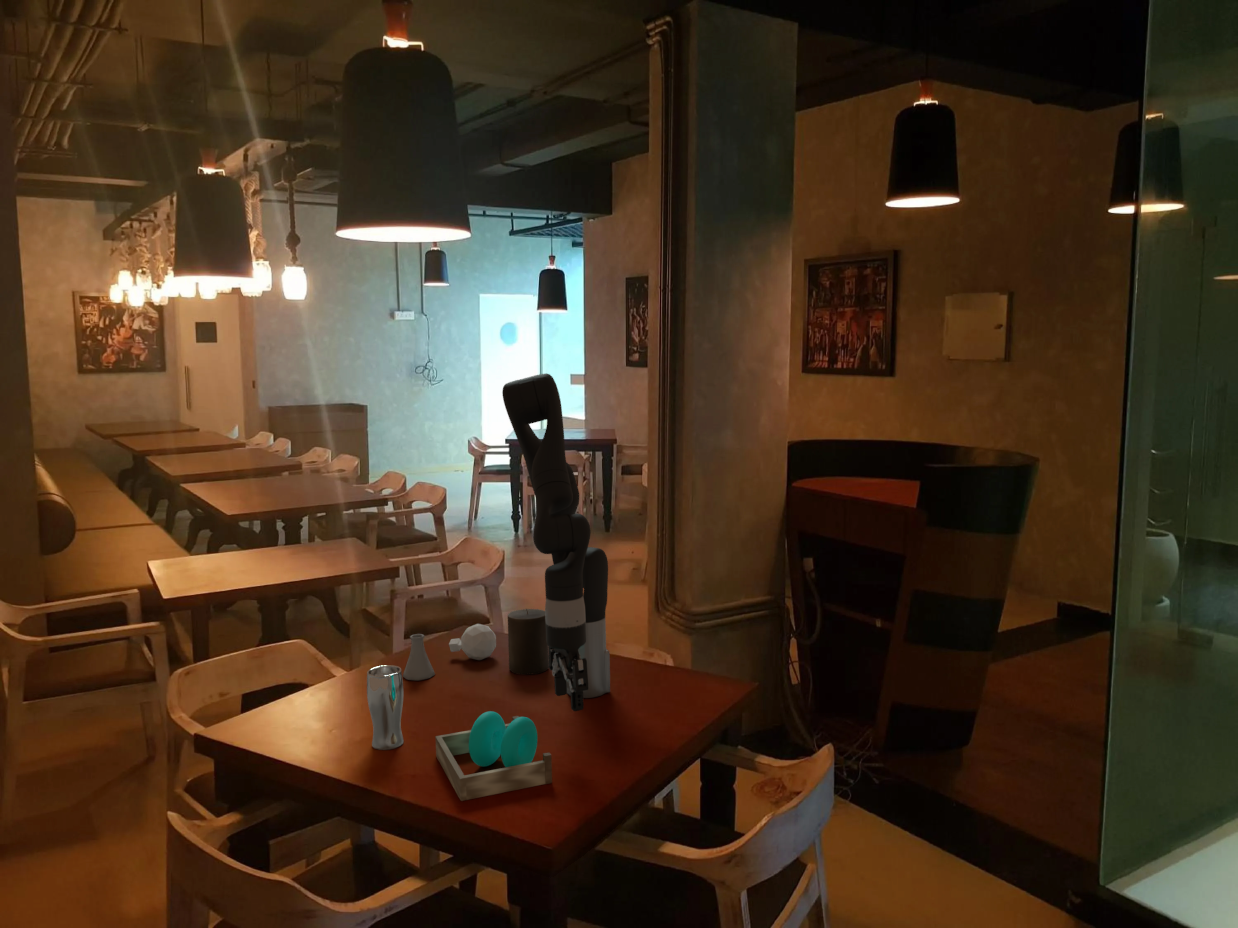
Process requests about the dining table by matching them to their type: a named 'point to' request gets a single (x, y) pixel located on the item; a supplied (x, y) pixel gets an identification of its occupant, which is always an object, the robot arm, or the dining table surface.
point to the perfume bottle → (475, 642)
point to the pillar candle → (527, 641)
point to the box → (492, 779)
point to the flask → (418, 661)
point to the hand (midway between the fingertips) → (569, 702)
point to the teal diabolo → (502, 740)
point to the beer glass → (385, 705)
